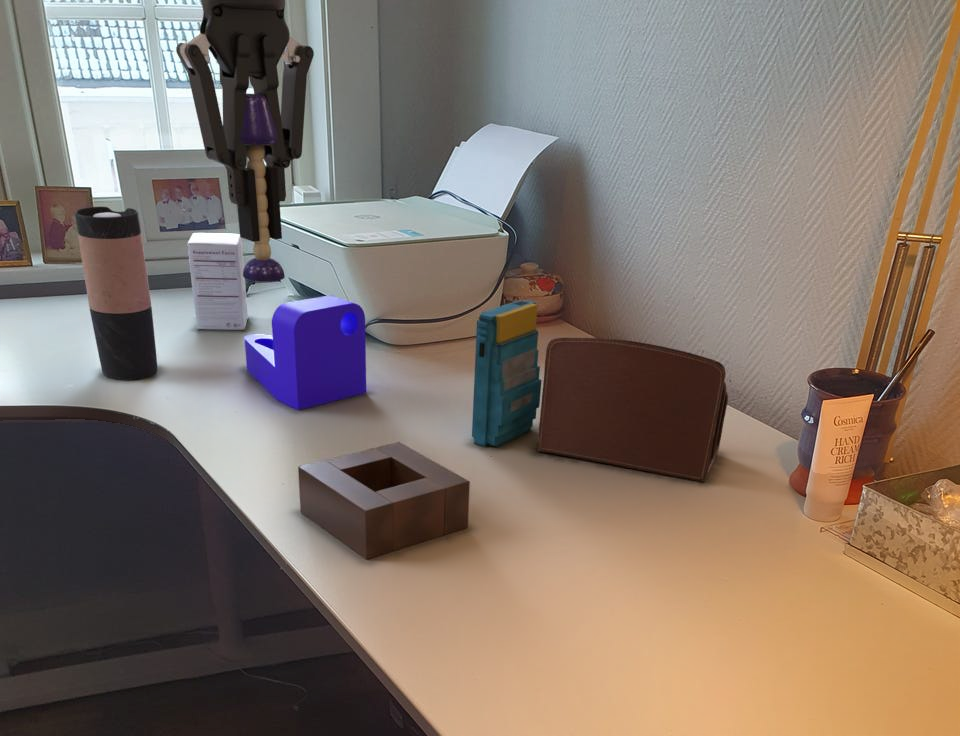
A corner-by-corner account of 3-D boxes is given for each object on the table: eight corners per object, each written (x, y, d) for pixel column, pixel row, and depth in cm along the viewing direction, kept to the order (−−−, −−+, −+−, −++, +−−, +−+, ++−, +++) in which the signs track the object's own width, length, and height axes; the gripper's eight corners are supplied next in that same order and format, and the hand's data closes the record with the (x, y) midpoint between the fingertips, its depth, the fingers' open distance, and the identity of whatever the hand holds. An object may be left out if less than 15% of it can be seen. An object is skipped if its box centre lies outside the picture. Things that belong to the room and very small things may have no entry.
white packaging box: (201, 316, 156) (192, 231, 149) (249, 317, 157) (242, 233, 150) (195, 329, 150) (185, 242, 143) (245, 330, 151) (237, 243, 144)
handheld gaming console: (512, 421, 123) (521, 297, 115) (540, 429, 122) (551, 304, 113) (467, 442, 117) (472, 313, 108) (495, 451, 115) (503, 321, 107)
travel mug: (115, 384, 128) (89, 219, 117) (90, 368, 133) (63, 209, 122) (170, 374, 132) (149, 214, 122) (144, 359, 137) (122, 204, 126)
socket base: (366, 559, 91) (365, 510, 89) (300, 512, 99) (297, 466, 96) (468, 527, 98) (470, 481, 95) (398, 485, 106) (398, 441, 103)
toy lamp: (268, 284, 100) (260, 97, 91) (228, 278, 101) (216, 92, 92) (292, 276, 104) (286, 95, 95) (252, 270, 105) (243, 91, 96)
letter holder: (705, 483, 110) (728, 357, 102) (535, 453, 115) (545, 331, 107) (719, 452, 118) (741, 333, 110) (559, 425, 123) (570, 309, 115)
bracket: (366, 392, 130) (364, 300, 123) (298, 410, 123) (292, 314, 117) (285, 358, 140) (280, 272, 134) (219, 373, 134) (210, 283, 127)
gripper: (180, -50, 81) (211, 252, 94) (334, -39, 89) (343, 237, 102) (141, -49, 86) (176, 238, 99) (291, -39, 94) (305, 225, 107)
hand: (261, 237), depth 100 cm, fingers closed on toy lamp, 2 cm apart
